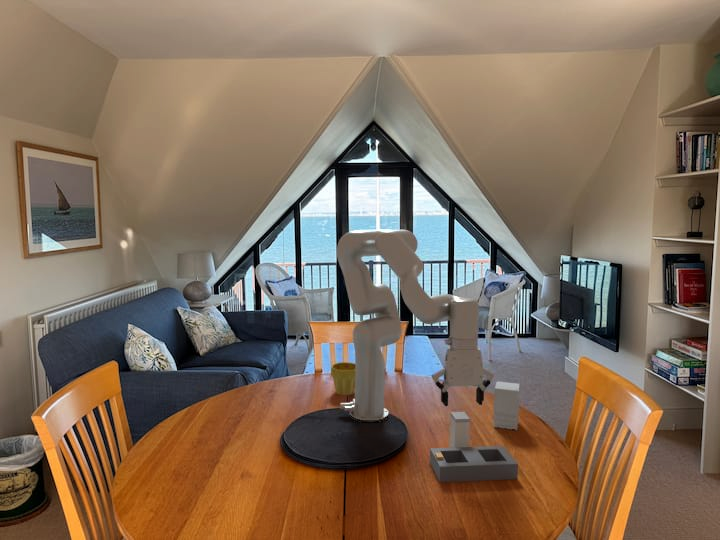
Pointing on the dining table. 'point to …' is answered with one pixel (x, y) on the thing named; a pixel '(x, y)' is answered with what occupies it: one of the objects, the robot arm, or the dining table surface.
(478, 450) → the power strip
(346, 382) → the plant pot
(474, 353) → the robot arm
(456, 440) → the plug
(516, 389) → the supplement box
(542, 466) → the dining table surface
